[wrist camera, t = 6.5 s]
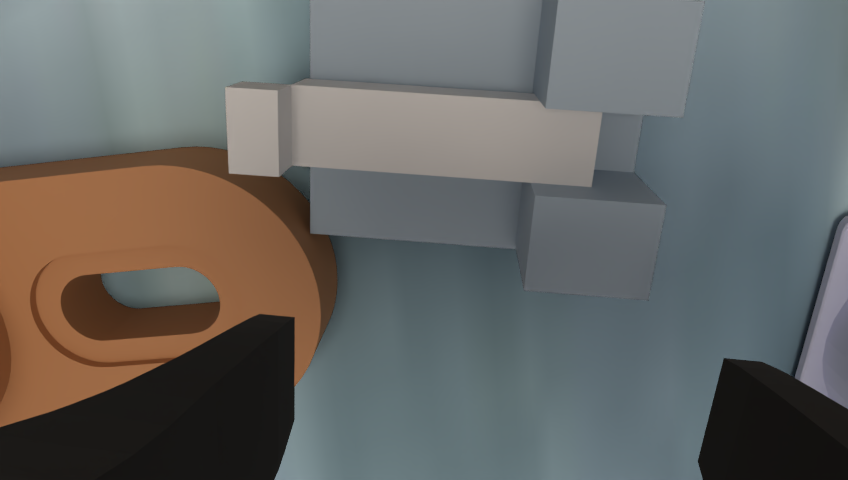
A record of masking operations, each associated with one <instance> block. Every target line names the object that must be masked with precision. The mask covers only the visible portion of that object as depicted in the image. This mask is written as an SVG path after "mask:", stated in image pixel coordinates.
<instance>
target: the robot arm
mask: <svg viewBox="0 0 848 480" xmlns="http://www.w3.org/2000/svg"><path fill="white" fill-rule="evenodd" d="M294 372H295V317H287V316H277V315H266V314H258V315H256V316H253V317H251V318H249V319H247V320H245V321H243V322H241V323H239V324H237V325H235V326H234V327H232V328H230V329H228V330H226V331H225V332H223V333H221V334H219V335H217V336H215V337H214V338H212V339H210V340H208V341H206V342H204V343H203V344H201V345H199V346H197V347H195V348H193V349H192V350H190V351H188V352H186V353H184V354H182V355H180V356H179V357H177V358H175V359H172V360H170V361H168V362H166V363H164V364H162V365H160V366H158V367H156V368H154V369H152V370H150V371H148V372H146V373H144V374H142V375H140V376H137V377H135V378H133V379H131V380H129V381H127V382H125V383H123V384H120V385H118V386H116V387H114V388H111V389H109V390H106V391H104V392H101V393H99V394H97V395H94V396H91V397H89V398H86V399H84V400H81V401H78V402H76V403H73V404H70V405H68V406H65V407H62V408H59V409H57V410H54V411H51V412H48V413H45V414H41V415H38V416H35V417H32V418H28V419H25V420H22V421H18V422H15V423H12V424H9V425H5V426H2V427H0V480H274V479H275V477H276V474H277V472H278V470H279V467H280V464H281V461H282V458H283V455H284V452H285V449H286V445H287V442H288V439H289V435H290V432H291V429H292V426H293V422H294ZM698 463H699V467H700V470H701V474H702V477H703V480H848V216H846V217H844V218H843V219H842V220H841V221H840V223H839V225H838V227H837V230H836V233H835V237H834V241H833V244H832V248H831V251H830V255H829V258H828V262H827V265H826V269H825V272H824V276H823V279H822V283H821V286H820V290H819V294H818V297H817V301H816V304H815V308H814V311H813V315H812V318H811V322H810V325H809V329H808V332H807V336H806V339H805V343H804V346H803V350H802V354H801V357H800V361H799V364H798V368H797V371H796V375H795V378H794V377H792V376H790V375H788V374H786V373H784V372H782V371H781V370H779V369H776V368H774V367H772V366H770V365H768V364H765V363H763V362H757V361H747V360H736V359H726V358H724V360H723V364H722V368H721V372H720V376H719V380H718V384H717V388H716V392H715V396H714V400H713V403H712V407H711V411H710V415H709V419H708V423H707V427H706V431H705V435H704V439H703V443H702V447H701V451H700V455H699V459H698Z"/></svg>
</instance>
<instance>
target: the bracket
mask: <svg viewBox="0 0 848 480" xmlns="http://www.w3.org/2000/svg"><path fill="white" fill-rule="evenodd" d="M167 267H187V268H191V269H194V270H196V271H198V272H200V273H201V274H203V275H204V276H206V277H207V278H208V279H209V280H210V281H211V282H212V284H213V285H214V287H215V288H216V290H217V292H218V295H219V299H220V302H211V303H200V304H188V305H176V306H165V307H153V308H141V309H136V308H130V307H127V306H124V305H122V304H120V303H118V302H117V301H116V300H114V299H113V298H112V297H111V296H110V295H109V294H108V292H107V291H106V289H105V288H104V285H103V283H102V279H101V274H102V273H112V272H123V271H134V270H145V269H156V268H167ZM336 294H337V266H336V260H335V254H334V251H333V247H332V244H331V241H330V238H329V236H328V235H323V234H310V203H309V202H308V201H307V199H306V198H305V197H304V196H303V195H302V194H301V193H300V192H299V191H298V190H297V189H296V188H295V187H294V186H293V185H292V184H291V183H290V182H289V181H287V180H286V179H285V178H284V177H282V176H280V177H271V176H257V175H243V174H230V173H229V167H228V150H223V149H217V148H211V147H181V148H172V149H164V150H155V151H146V152H137V153H128V154H119V155H110V156H101V157H92V158H83V159H74V160H65V161H56V162H47V163H38V164H29V165H20V166H11V167H2V168H0V427H2V426H5V425H9V424H12V423H15V422H18V421H22V420H25V419H28V418H32V417H35V416H38V415H41V414H45V413H48V412H51V411H54V410H57V409H59V408H62V407H65V406H68V405H70V404H73V403H76V402H78V401H81V400H84V399H86V398H89V397H91V396H94V395H97V394H99V393H101V392H104V391H106V390H109V389H111V388H114V387H116V386H118V385H120V384H123V383H125V382H127V381H129V380H131V379H133V378H135V377H137V376H140V375H142V374H144V373H146V372H148V371H150V370H152V369H154V368H156V367H158V366H160V365H162V364H164V363H166V362H168V361H170V360H172V359H175V358H177V357H179V356H180V355H182V354H184V353H186V352H188V351H190V350H192V349H193V348H195V347H197V346H199V345H201V344H203V343H204V342H206V341H208V340H210V339H212V338H214V337H215V336H217V335H219V334H221V333H223V332H225V331H226V330H228V329H230V328H232V327H234V326H235V325H237V324H239V323H241V322H243V321H245V320H247V319H249V318H251V317H253V316H256V315H258V314H266V315H277V316H287V317H295V372H294V387H295V385H296V384H297V383H298V382H299V380H300V379H301V378H302V376H303V375H304V373H305V371H306V370H307V368H308V366H309V364H310V362H311V360H312V358H313V355H314V353H315V351H316V349H317V347H318V344H319V342H320V340H321V338H322V335H323V333H324V331H325V329H326V326H327V324H328V322H329V320H330V317H331V315H332V312H333V308H334V305H335V300H336Z"/></svg>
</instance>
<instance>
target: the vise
mask: <svg viewBox="0 0 848 480" xmlns="http://www.w3.org/2000/svg"><path fill="white" fill-rule="evenodd" d="M704 4H705V1H691V0H310V79H303V80H301V81H299V82H296V83H294V84H292V85H288V84H273V83H258V82H243V81H242V82H239V83H236V84H233V85H230V86H227V87H225V98H226V121H227V144H228V167H229V173H230V174H243V175H257V176H271V177H280V176H281V175H282V174H283V173H284V172H285V171H286V170H288V169H289V168H290V167H291V166H305V167H310V234H323V235H336V236H349V237H363V238H376V239H389V240H402V241H415V242H428V243H441V244H454V245H467V246H481V247H494V248H507V249H516V252H517V257H518V262H519V267H520V273H521V278H522V283H523V288H524V291H534V292H547V293H560V294H572V295H585V296H598V297H610V298H623V299H636V300H648V301H649V295H650V290H651V285H652V280H653V274H654V269H655V264H656V258H657V253H658V248H659V243H660V237H661V232H662V227H663V221H664V216H665V211H666V204H665V203H664V202H663V201H662V200H661V199H660V198H659V197H658V196H657V195H656V194H655V193H654V192H653V191H652V190H651V189H650V188H649V187H648V186H647V185H646V184H645V183H644V182H643V181H642V180H641V179H640V178H639V177H638V176H637V175H636V174H635V173H634V168H635V162H636V156H637V151H638V145H639V139H640V133H641V127H642V121H643V115H649V116H664V117H679V118H683V115H684V110H685V105H686V100H687V94H688V89H689V84H690V78H691V73H692V68H693V63H694V57H695V52H696V47H697V41H698V36H699V31H700V25H701V20H702V15H703V10H704Z"/></svg>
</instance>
